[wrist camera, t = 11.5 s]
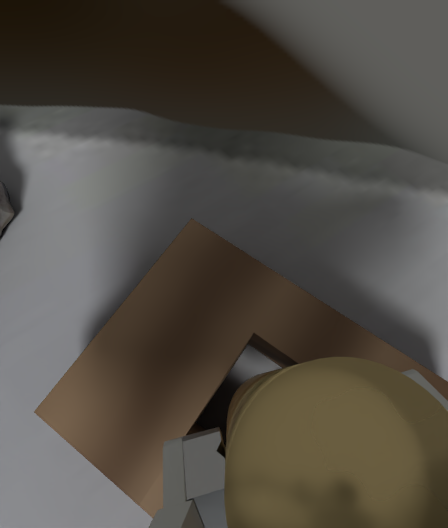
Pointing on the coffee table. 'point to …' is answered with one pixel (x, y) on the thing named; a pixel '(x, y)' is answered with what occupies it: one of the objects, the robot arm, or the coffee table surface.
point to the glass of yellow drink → (336, 449)
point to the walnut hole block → (191, 355)
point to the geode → (5, 207)
